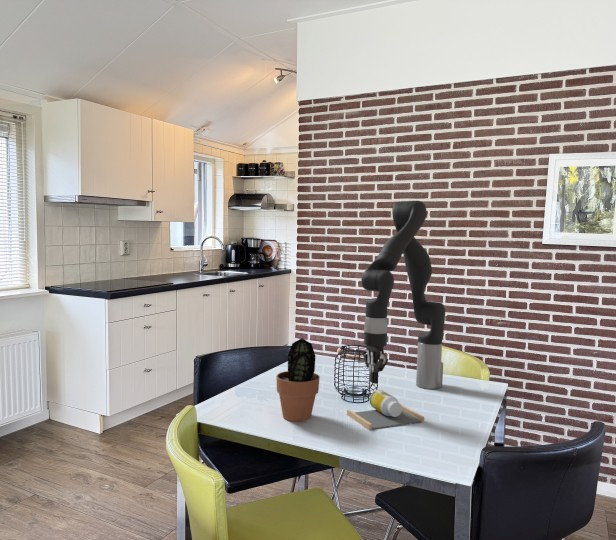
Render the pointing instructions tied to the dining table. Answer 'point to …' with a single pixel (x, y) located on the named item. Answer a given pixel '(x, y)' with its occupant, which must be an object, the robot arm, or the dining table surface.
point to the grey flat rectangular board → (385, 418)
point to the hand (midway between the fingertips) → (373, 382)
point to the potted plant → (298, 382)
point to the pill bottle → (385, 403)
